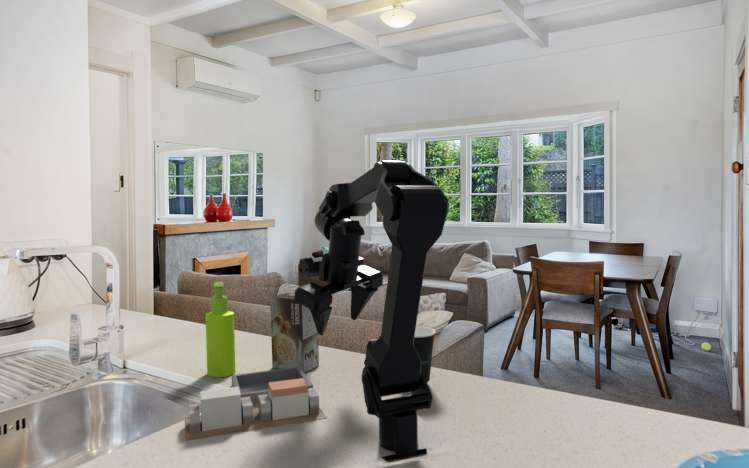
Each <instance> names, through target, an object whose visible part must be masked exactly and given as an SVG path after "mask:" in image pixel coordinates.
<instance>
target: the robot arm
mask: <svg viewBox="0 0 749 468" xmlns="http://www.w3.org/2000/svg"><path fill="white" fill-rule="evenodd" d="M373 204H374V205H375V206H376V207H377V209H378V210H379V213H381V215H382V227H383V229H384V231H385V233H386V235H387V237H388V239H389V241H390V244H391V250H390V251H391V253H390V259H389V268H388V275H387V282H386V283H387V284H386V292H385V298H384V308H383V314H382V315H383V316H382V324H381V332H380V336H379V337H378V339H370V340H369V341H368V342H367V344H366V347H365V348H366V349H365V350H366V351H365V352H366V353H365V359H364V361H363V364H364V367H363V369H362V372H361V373H362V374H361V383H362V388H363V389H362V391H363V398H364V402H365V403H364V404H365V407H366V413H367V414H368V415H370V416H371V415H372V416H375V417H376V418H377V419H378V444H379V446H380V447H381V448H382V449H384V450H386V451H388V452H393V454H388V455H384V456H382V458H383V460H384V461H385V462H393V461H398V460H404V459H407V458H408V459H409V458H413V457H417V456H423V455H427V453H428V451H427V450H428V449H427V448H426V447H425V448H420V449H418V445H419V444H418V442H419V441H418V437H419V436H418V433H419V432H418V427H419V425H418V423H419V420H418V414H419V413H418V411H421V410H426V409H427V410H428V409H431V407H432V403H433V395H432V393H431V390H430V387H429V383H428V384H427V382H426V379H425V377H424V374H423V371H422V369H421V363H422V361H421V359H420V357H419V355H418V353H417V351H416V349H415V347H414V336H415V330H416V326H417V324H418V323H417V322H418V315H419V308H420V300H421V295H422V288H423V283H424V282H423V281H424V274H425V269H426V263H427V262H426V261H427V256H428V252H429V251H430V250H431V248H432V247H433V246H434V245H435V244H436V242H438V240H439V239H440V237H442V234H443V231H444V227H445V224H446V220H447V216H448V213H449V209H450V207H449V205H450V204H449V199H448V197H447V196H446V194H445V193H444V192H443V190H442V189H441V188H440V187H439V186H438V185H437V183H436V182H435V181H434V180H432V179H431V178H429V177H428V176H426V175H423V174H422V173H420V172H419V171H417V170H415V168H414V167H413V166H412V165H411V164H410V162H406V161H405V160H380V161H378V162H375V163H374V164H373V167H372V168H371V169H369V170H367V171H366V172H365V173H363V174H362V175H361V176H359V177H357V178H356V179H355V180H353V181H351V182H345V183H343V182H342V183H336V184H335V183H334V184H331V186H330V187H329V190H328V191H326V194H325V196H324V198H323V200H322V202H321V203H320V205H319V207H318V211H317V213H316V215H315V217H314V226H315V227H316V229H317V230H318V232H320V233H321V234H322V236H323V237H324V238H325V239H326V240H327V241H329V242H328V243H329V244H328V253H325V254H324V253H323V255H322V256H319V257H314V258H312V257H311V256H310V257H303V258H299V263H298V272H299V274H300V275H301V276H306V277H305V278H307V279H308V278H309V279H310V278H312V277H315V278H317V277H318V280H319V281H320V282H322V283H323V282H324V283H325V282H326V285H324V286H321V285H319V284H317V283H315V282H309V283H307V284H303V285H300V286H298V287H297V288H295V290H294V294H295V297H294V301H295V302H297V303H299V304H301V305H303V306H305V307H307V308H308V309H309V310H310V312H311V314H312V317H313V320H314V323H315V326H316V329H317V333H318V335H319V336H323V335H324V333H325V331H326V329H327V325H328V323H329V320H330V316H331V313H332V310H333V307H332V306H331V305H332V303H333V296H335V295H337V294H340V293H344V292H346V291H348V290H350V293H351V296H350V297H351V298H350V319H351V320H353V321H356V320H358V318H359V316H360V315H361V313H362V311H363V310H364V309H365V307H366V305H367V304H368V302H369V301H370V300H371V298H373V296H374V294H375V293H376V292H378V291H379V288H380V287H383V283H384V276H383V274H382V272H381V271H380V270H377V269H375V268H372V267H370V266H368V265H365V264H364V260H365V258H363V257H361V256H360V252H361V243H362V236H365V229H364V227H362V225H361V223H360V221H359V220H354V219H352V218H351V217H366V216H367V215H368V214H369V213H370V212H372V210H373ZM362 264H363V265H362ZM406 393H411V394H410V395H404V396H398V397H390V396H394V395H402V394H406ZM383 397H390V398H386V399H383Z"/></svg>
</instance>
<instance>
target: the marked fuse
mask: <svg viewBox="0 0 749 468" xmlns="http://www.w3.org/2000/svg"><path fill="white" fill-rule="evenodd" d="M268 387H269V400H270V402H271V417H272V419H273V420H278V419H284V418H291V417H297V416H304V415H309V400H308V384H307V383H306V382H305V380H304V379H303V378H300V379H292V380H285V381H277V382H269V383H268Z"/></svg>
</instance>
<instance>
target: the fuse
mask: <svg viewBox="0 0 749 468" xmlns="http://www.w3.org/2000/svg"><path fill="white" fill-rule="evenodd" d="M200 416H201V421H202V431H206V430H212V429H219V428H225V427H232V426H238V425H242V419H241V393H240V390H239V387H232V386H231V387H225V388H224V387H223V388H216V389H215V388H213V389H206V390H201V391H200Z"/></svg>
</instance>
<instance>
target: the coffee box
mask: <svg viewBox="0 0 749 468" xmlns="http://www.w3.org/2000/svg"><path fill="white" fill-rule="evenodd" d="M294 297H295V293H291V292H284V293H279V294H276V295H275V296H270V298H269V304H270V305H269V306H270V308H269V309H270V332H271V333H270V335H271V336H270V338H271V363H272V365H271V366H272V368H274V369H278V370H279V369H287V368H296V367H300V368H301V369H302V371H303V372H304V373H306V372H309V371H310V370H313V369H315V368H316V367H319V366H320V357H319V356H320V354H319V353H320V352H319V349H320V348H319V334H318V333H317V329H316V326H315V323H314V320H313V317H312V314H311V312H310V310H309V309H308V308H307V307H305V306H303V305H301V304H299V303H297V302H295V301H294Z"/></svg>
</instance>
